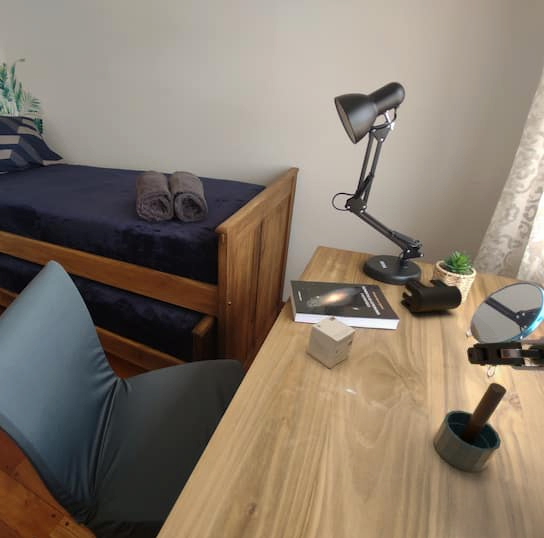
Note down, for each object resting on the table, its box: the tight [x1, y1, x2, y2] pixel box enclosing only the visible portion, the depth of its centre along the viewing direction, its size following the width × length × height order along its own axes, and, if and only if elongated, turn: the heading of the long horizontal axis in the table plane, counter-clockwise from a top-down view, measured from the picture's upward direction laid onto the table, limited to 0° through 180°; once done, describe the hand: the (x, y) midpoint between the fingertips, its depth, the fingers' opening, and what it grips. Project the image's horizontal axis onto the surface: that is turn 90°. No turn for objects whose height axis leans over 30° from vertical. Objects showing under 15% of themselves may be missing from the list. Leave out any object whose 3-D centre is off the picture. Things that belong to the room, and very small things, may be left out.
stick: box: [459, 382, 507, 445], centre depth 52 cm, size 2×2×14 cm
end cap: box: [400, 278, 463, 313], centre depth 87 cm, size 10×7×7 cm
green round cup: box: [433, 410, 502, 473], centre depth 55 cm, size 7×7×6 cm
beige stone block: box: [306, 315, 356, 369], centre depth 73 cm, size 6×6×7 cm
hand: (504, 357), depth 48 cm, fingers open, 8 cm apart
